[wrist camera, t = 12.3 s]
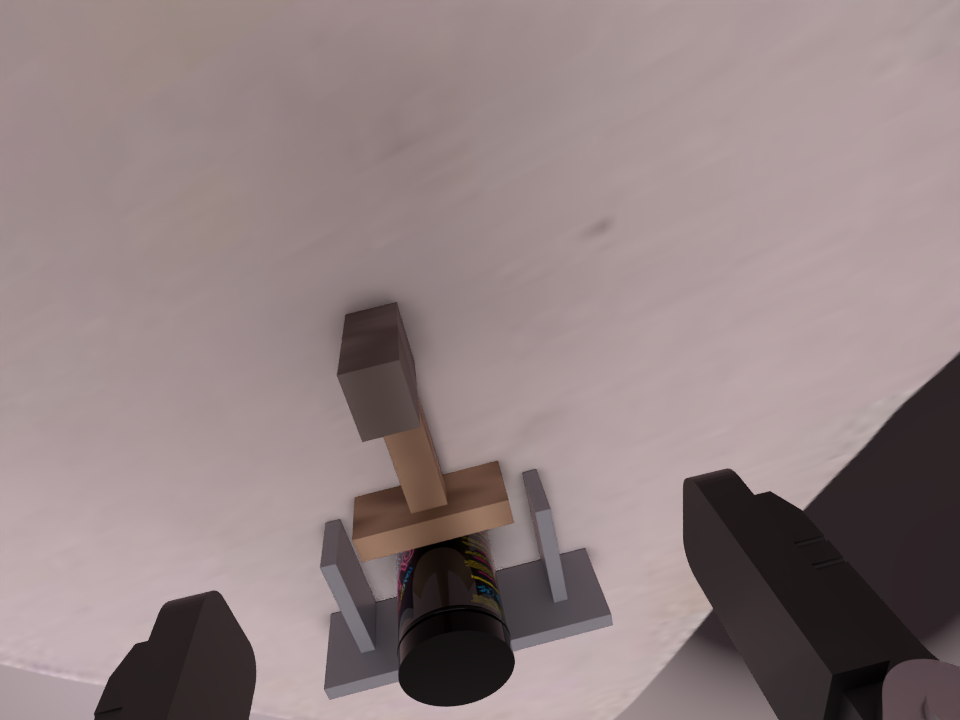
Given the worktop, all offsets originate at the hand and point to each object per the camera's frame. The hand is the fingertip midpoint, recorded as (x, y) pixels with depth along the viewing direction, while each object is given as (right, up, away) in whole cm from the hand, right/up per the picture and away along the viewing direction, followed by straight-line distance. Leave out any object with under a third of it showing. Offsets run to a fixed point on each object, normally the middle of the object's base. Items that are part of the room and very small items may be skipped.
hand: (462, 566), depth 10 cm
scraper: (-4, 0, +27) cm, 28 cm away
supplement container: (-3, -9, +33) cm, 34 cm away
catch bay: (-2, -10, +33) cm, 35 cm away
